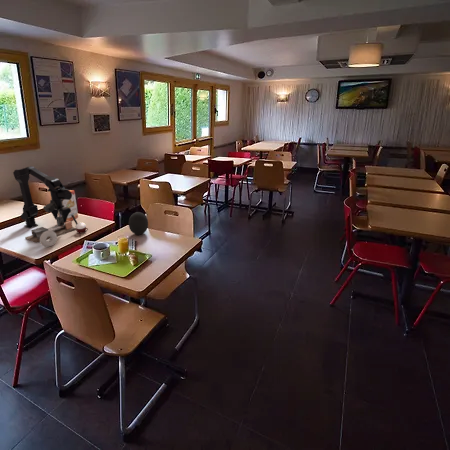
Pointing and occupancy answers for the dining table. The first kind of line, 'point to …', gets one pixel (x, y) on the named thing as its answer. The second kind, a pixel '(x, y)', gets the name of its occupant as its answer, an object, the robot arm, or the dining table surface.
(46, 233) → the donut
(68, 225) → the socket block
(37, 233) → the base board
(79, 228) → the cocoa
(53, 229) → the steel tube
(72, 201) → the cracker box
